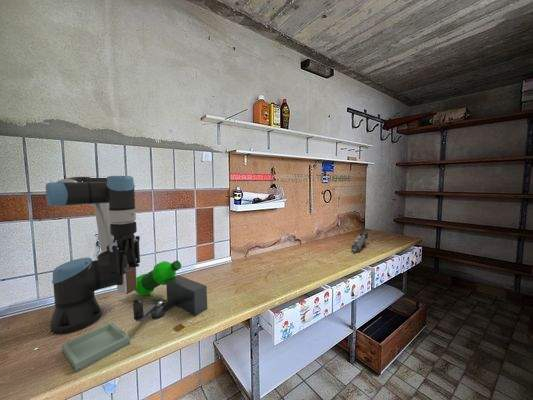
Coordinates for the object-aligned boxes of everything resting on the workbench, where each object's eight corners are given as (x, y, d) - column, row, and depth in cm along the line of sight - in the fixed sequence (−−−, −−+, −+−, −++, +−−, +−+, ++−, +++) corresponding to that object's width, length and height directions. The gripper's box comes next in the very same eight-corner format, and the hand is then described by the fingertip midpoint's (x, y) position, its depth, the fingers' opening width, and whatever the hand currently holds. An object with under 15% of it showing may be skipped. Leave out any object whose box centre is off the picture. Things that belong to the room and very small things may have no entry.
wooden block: (127, 294, 76) (125, 271, 76) (118, 293, 78) (116, 270, 77) (137, 289, 80) (136, 267, 79) (128, 287, 81) (127, 265, 81)
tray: (62, 351, 72) (61, 344, 72) (112, 328, 83) (112, 322, 83) (76, 372, 64) (75, 364, 64) (130, 343, 75) (129, 336, 75)
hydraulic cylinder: (369, 240, 191) (369, 228, 189) (358, 259, 162) (358, 246, 160) (360, 239, 196) (360, 228, 194) (348, 257, 167) (347, 244, 165)
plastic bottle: (151, 283, 116) (188, 261, 110) (144, 302, 108) (183, 280, 102) (134, 273, 112) (172, 250, 105) (125, 292, 103) (165, 268, 97)
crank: (155, 301, 94) (154, 283, 93) (166, 301, 93) (165, 284, 93) (129, 323, 79) (128, 302, 78) (143, 324, 78) (141, 303, 78)
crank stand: (143, 312, 93) (141, 288, 93) (179, 296, 107) (178, 275, 106) (175, 333, 80) (173, 305, 79) (212, 311, 93) (211, 287, 92)
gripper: (115, 227, 68) (120, 303, 70) (149, 217, 85) (152, 278, 87) (91, 227, 68) (96, 302, 70) (129, 217, 86) (133, 278, 88)
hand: (127, 289), depth 79 cm, fingers closed on wooden block, 5 cm apart
